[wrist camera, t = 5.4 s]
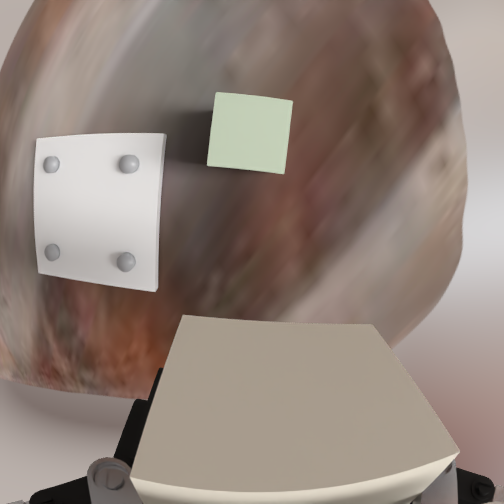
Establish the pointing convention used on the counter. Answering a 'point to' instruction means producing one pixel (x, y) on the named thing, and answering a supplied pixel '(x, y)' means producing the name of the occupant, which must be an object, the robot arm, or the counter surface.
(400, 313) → the counter surface
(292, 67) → the counter surface
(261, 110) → the sage block
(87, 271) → the plate
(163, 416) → the cream block
